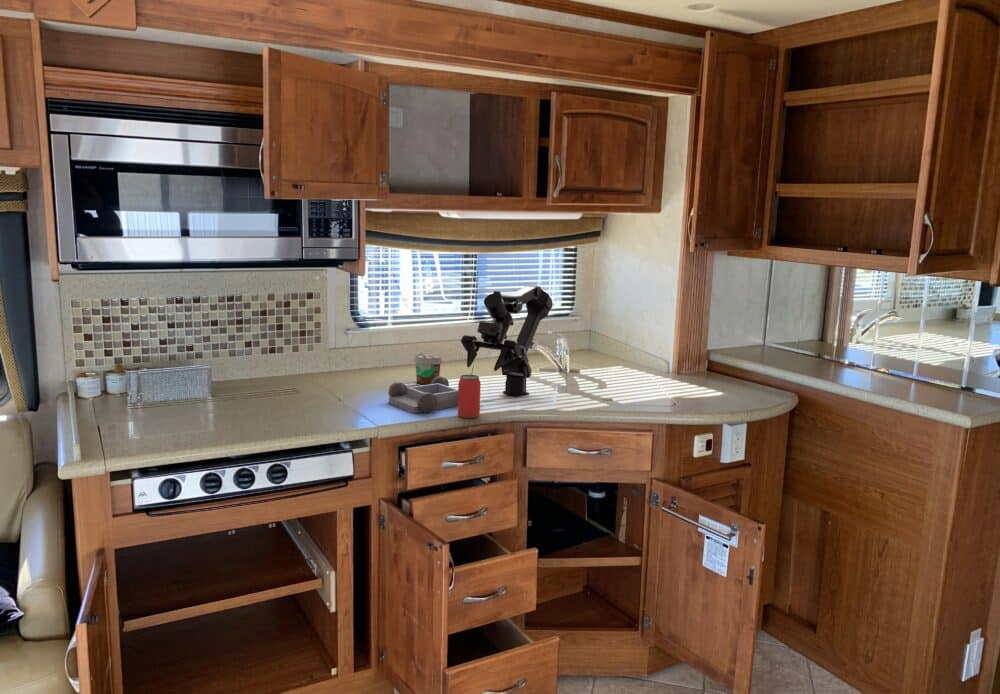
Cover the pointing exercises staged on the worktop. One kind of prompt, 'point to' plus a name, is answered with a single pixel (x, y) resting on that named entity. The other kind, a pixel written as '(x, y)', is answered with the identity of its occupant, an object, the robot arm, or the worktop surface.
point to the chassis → (424, 396)
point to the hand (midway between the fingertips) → (481, 368)
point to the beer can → (469, 396)
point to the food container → (426, 368)
